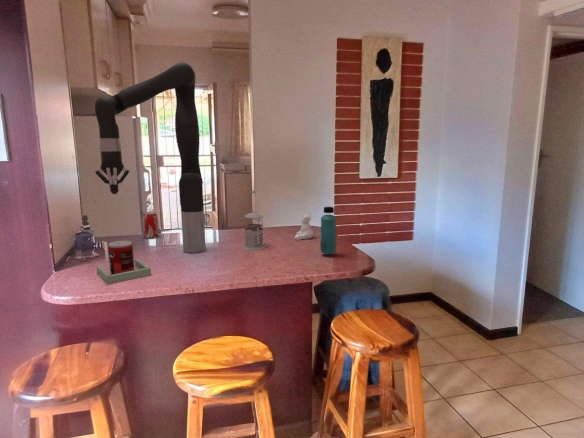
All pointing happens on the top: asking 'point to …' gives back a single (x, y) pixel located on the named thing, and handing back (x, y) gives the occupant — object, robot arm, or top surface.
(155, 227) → the soda can
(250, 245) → the french press
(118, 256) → the canned food
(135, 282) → the top surface
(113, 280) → the holder tray
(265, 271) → the top surface
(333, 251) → the beverage bottle
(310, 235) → the white figurine
